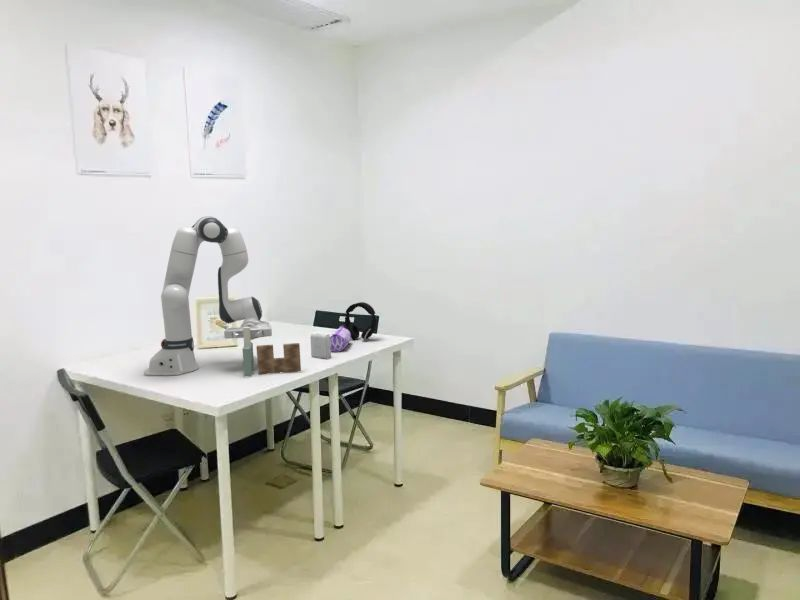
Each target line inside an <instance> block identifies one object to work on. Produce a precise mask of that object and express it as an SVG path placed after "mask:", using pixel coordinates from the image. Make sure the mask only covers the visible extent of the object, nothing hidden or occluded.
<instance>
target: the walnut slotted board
mask: <svg viewBox="0 0 800 600" xmlns="http://www.w3.org/2000/svg"><path fill="white" fill-rule="evenodd" d="M282 347H283V357H274V356H275V355H274V344H261V345H258V344H257V345H256V359H257V360H256V362H257V363H256V364H257V374H258V375H266V374H268V373H269V374H281V373H280V372H285V373H297V372H298V371H301V372H302V365H301V364H302V363H301V348H300V343H299V342H296V343H295V342H294V343H293V342H292V343H283V346H282ZM298 373H299V372H298ZM269 374H268V375H269Z"/></svg>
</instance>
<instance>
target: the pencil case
mask: <svg viewBox="0 0 800 600" xmlns="http://www.w3.org/2000/svg"><path fill="white" fill-rule="evenodd" d="M351 339H352V338H351V333H350V332H349V330H348V329H347V327H346V328H345V327H344V325H341V326H339V328H337V329H336V330H335V332H334V333H332V334H331V336H330V344H331V352H335V353H339V352H341V351H343V350H345V348H346V347H347V346H348V344H349V343H350V342H351Z"/></svg>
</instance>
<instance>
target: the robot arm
mask: <svg viewBox="0 0 800 600" xmlns="http://www.w3.org/2000/svg"><path fill="white" fill-rule="evenodd" d="M203 242H208V243H212V244H213V243H214V244H215V243H216V244H217V245H218V246H219V248H220V252H221V257H222V263H221V266H219V267H218V270H217V287H218V288H217V289H218V316H219V319H220V320H221V321H222V322H223V323H225V324H232V323H235V322H239V321H242V323H241V325H240V326H238V327H237V326H236V327H229V328H226V329H224V330H223V331H224V332H223V335H224V339H244V336H243V327H250V338H251V341H253V340H255V339H259V338H264V337H272V336H273V333H272V332H273V331H272V325H271V324H270V322H269V321H262V320H261V319H262V317H263V310H262V306H261V303H260V302H259V299H257V298H255V297H254V296H247V297H242V298H239V299H233V300H229V289H228V288H229V286H228V285H229V281H230V279H232V278H233V277H234V276H236V275H238V274H240V273H241V272H242V271H243V270H245V269H246V267H247V266H248V264H249V254H248V249H247V245H246V243H245V239H244V238H243V235H242V233H241V231H240V230H239V229H238V228H235V227H228V228H227V227H226V226H225V225H224V224H223V223H222V222H221V221H220V220H219V219H218V218H217V217H214V216H211V215H209V216H208V215H207V216H203V217H200V218H199V219H198V220H197V221H196V222H195V223H194V224H193V225H192V226H191V227H189V226H183V227H180V228H178V229H177V231H176V233H175V235H174V238H173V241H172V243H171V250H170V254H169V258H168V262H167V267H166V273H165V277H164V278H165V279H164V282H163V288H162V292H161V295H160V298H161V299H160V301H161V307H162V317H163V326H164V335H165V336H164V337H165V338H163V339H162V340H161V342H160V346H161V348H160V349H159V350H158V351H157V352H156V353H154V355H153V356H152V357H151V358H150V360H149V363H148V364H149V365H148V367H147V368H145V370H144V371H143V375H144V374H145V375H144V376H180V375H183V374H185V373H189V372H193V371H196V370H198V369H199V365H198V363H197V360H196V357H195V351H194V349H195V344H194V343H195V342H194V337H193V336H192V335H193V334H192V333H193V332H192V322H191V321H192V320H191V310H190V299H189V295H190V289H191V284H192V280H193V276H194V274H195V273H194V272H195V268H196V262H197V257H198V253H199V248H200V246H201V244H202V243H203Z"/></svg>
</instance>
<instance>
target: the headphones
mask: <svg viewBox="0 0 800 600" xmlns="http://www.w3.org/2000/svg"><path fill="white" fill-rule="evenodd" d="M356 308H362V309H364V310H365V311H366V312H367V313H368V315H370V316H371V317H372V320H371V323H370V325H366V327H365V328H364V329H363V330H362V332H361V335H360V330H359V327H358V326H357V325H356V324H354V323H353V324H351V319H350V313H353V311H354V310H355V309H356ZM344 313H345V314H346V315H345V317H344V325H345V326H346V329H348V330H349V332H350V333H351V339H352V340H353V341H355V340H357V339H359V336H360V337H361V338H362V339H363V341H367V340H369V339H370V338H371V337H372V335H373V334H374V331H375V329H376V327H377V319H376V315H375V314H376V311H375V309H374V308H373V306H371V304H369V303H367V302H365V301H363V302H362V301H361V302H357V303H353V304H351V305H349V306H348V307H347V308H346V310H345V312H344Z"/></svg>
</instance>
